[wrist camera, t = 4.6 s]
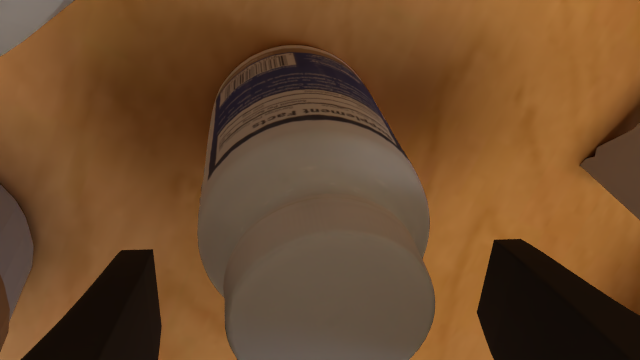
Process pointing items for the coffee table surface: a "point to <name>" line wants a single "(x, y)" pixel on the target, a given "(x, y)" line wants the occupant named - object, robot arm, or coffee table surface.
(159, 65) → the coffee table surface
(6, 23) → the beverage can
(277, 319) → the pill bottle
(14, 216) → the coffee cup
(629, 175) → the grey flat notched piece
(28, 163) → the coffee table surface
